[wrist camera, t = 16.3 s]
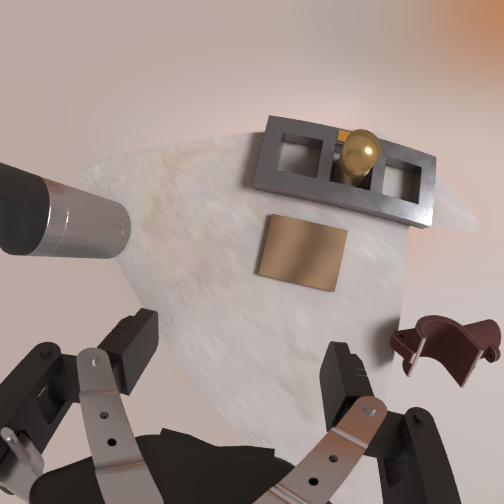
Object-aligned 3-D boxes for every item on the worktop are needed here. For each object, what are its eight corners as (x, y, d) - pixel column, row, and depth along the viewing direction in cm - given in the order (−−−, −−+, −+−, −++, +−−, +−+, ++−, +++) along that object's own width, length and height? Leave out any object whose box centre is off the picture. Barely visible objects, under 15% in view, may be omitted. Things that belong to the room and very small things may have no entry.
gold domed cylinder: (331, 183, 37) (342, 158, 27) (336, 157, 37) (348, 125, 27) (359, 191, 37) (379, 168, 27) (364, 164, 37) (383, 135, 27)
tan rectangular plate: (259, 274, 38) (258, 274, 37) (272, 215, 38) (272, 213, 37) (333, 291, 37) (334, 291, 36) (346, 231, 37) (347, 230, 36)
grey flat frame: (255, 189, 39) (252, 182, 35) (271, 125, 39) (268, 114, 35) (422, 228, 35) (432, 226, 32) (428, 163, 35) (437, 156, 32)
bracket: (394, 317, 33) (434, 366, 23) (477, 304, 34) (516, 337, 24) (382, 354, 35) (414, 405, 25) (464, 336, 36) (498, 372, 26)
